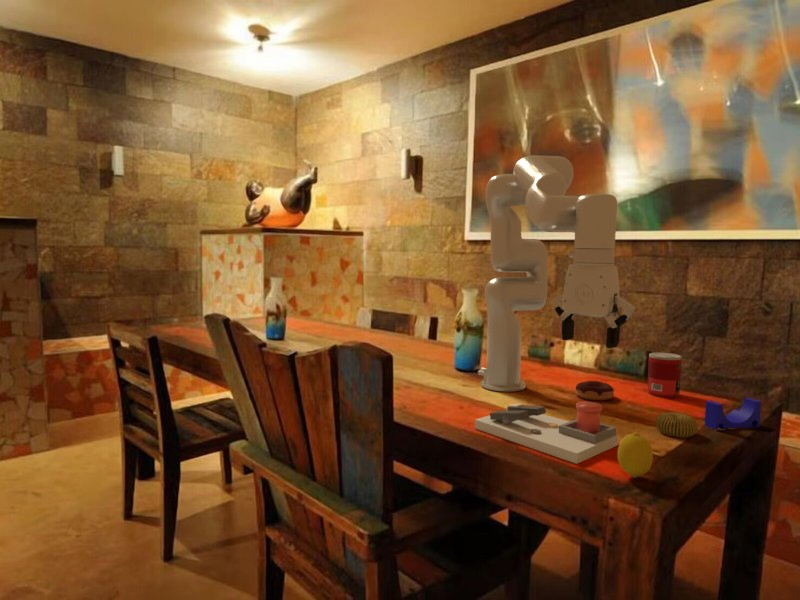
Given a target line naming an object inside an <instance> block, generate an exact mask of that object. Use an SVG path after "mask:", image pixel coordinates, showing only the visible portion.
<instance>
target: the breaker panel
mask: <svg viewBox="0 0 800 600" xmlns="http://www.w3.org/2000/svg"><path fill="white" fill-rule="evenodd" d="M505 411H508V409H506V410H505ZM474 429H476V430H478V431H481V432H484V433H487V434H490V435H492V436H496V437H499V438H501V439H504V440H506V441H510V442H512V443H515V444H518V445H521V446H524V447H527V448H530V449H532V450H536V451H537V452H541V453H543V454H544V453H545V454H547V455H550V456H553V457H556V458H559V459H561V460H564V461H567V462H570V463H573V464H576V465H578V464H579V463H581V462H584V461H586V460H588V459H591V458H592V457H595V456H596V455H599V454H602V453H604V452H606V451H608V450H610V449H612V448H614V447H617V446H619V434H617V427H615V426H612V425H608V424H603V423H601V422H600V432H598V433H595V434H591V433H587V432H584V431H581V430H577V418H576V419H574V420H570V421H568V420H565V419H561V418H558V417H554V416H550V415H547V414H545V413H544V414H541V415H538V416H535V415H533V416H530V417H528V418H525V419H522V420H516V421H514V422H511V423H508V424H504V423H503V422H502V420H491V418H490V414H489V415H487V416H483V417H480V418H476V419H474Z"/></svg>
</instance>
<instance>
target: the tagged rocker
mask: <svg viewBox="0 0 800 600" xmlns="http://www.w3.org/2000/svg"><path fill="white" fill-rule="evenodd" d="M506 408H507V409H506V410H508V411H528V415H529V417H530V416H533V415H535V416H538V415H541V414H544V415H545V414H547V412H546V406H543V405H528V404H527V405H526V404H524V403H511V404H509V405H507V407H506Z"/></svg>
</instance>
